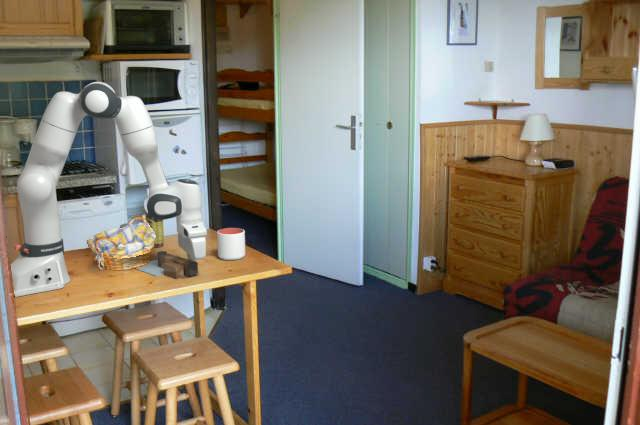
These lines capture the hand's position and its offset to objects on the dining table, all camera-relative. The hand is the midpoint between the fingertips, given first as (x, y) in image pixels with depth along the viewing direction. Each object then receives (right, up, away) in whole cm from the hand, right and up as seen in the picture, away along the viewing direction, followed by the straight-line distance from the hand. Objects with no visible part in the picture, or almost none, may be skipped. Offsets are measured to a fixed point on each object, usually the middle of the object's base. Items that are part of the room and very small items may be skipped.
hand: (192, 265), depth 242 cm
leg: (-6, -1, +1) cm, 6 cm away
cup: (+11, +1, +18) cm, 21 cm away
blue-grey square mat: (-12, -1, +7) cm, 13 cm away
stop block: (-3, -3, -3) cm, 5 cm away
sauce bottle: (-20, +5, +33) cm, 39 cm away
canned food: (-27, +3, +23) cm, 36 cm away
